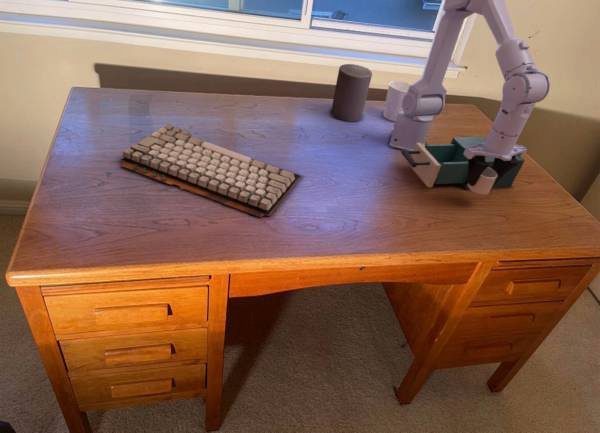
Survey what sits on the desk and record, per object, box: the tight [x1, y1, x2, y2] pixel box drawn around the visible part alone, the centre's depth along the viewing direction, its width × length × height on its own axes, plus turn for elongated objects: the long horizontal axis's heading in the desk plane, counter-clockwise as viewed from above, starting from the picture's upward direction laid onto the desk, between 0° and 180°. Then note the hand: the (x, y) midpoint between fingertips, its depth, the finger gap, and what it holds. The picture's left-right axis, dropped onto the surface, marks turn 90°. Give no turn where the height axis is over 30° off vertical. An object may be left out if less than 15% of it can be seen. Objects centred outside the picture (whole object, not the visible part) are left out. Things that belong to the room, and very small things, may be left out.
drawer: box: [400, 143, 468, 188], centre depth 107 cm, size 17×10×6 cm, turn 105°
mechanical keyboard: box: [120, 123, 302, 218], centre depth 98 cm, size 38×19×3 cm, turn 68°
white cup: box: [382, 80, 412, 123], centre depth 132 cm, size 8×8×10 cm
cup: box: [467, 167, 498, 195], centre depth 99 cm, size 5×5×4 cm
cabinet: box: [450, 136, 526, 191], centre depth 111 cm, size 14×12×8 cm
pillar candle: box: [330, 63, 373, 122], centre depth 127 cm, size 10×10×15 cm
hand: (480, 182), depth 99 cm, fingers closed on cup, 5 cm apart
